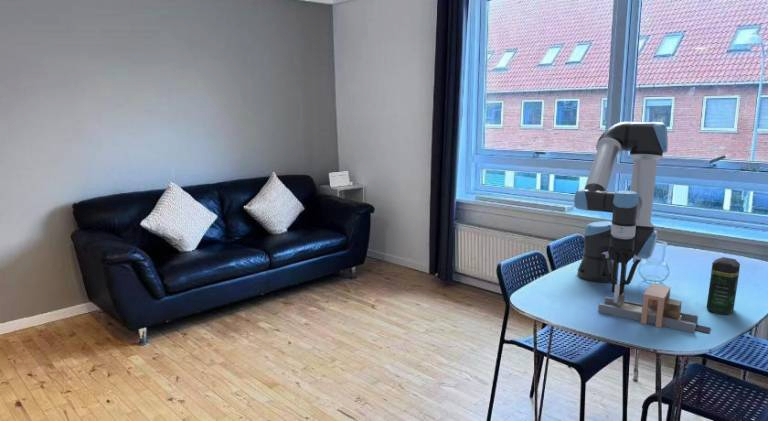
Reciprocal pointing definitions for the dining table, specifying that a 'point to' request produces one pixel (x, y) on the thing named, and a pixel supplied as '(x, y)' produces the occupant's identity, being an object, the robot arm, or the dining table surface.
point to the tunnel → (654, 302)
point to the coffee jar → (723, 285)
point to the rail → (649, 315)
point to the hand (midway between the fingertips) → (616, 301)
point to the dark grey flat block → (702, 329)
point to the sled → (670, 309)
